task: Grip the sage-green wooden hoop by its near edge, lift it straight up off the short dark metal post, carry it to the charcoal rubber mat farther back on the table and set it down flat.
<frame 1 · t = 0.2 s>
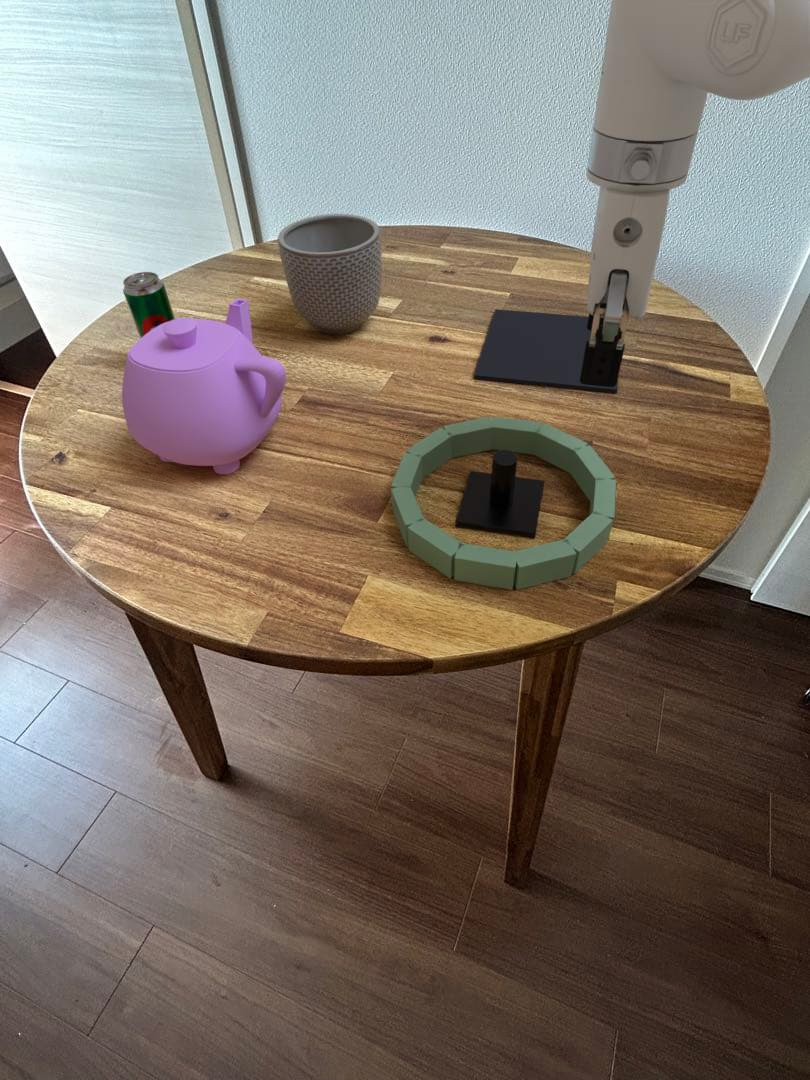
hand: (600, 355, 62), 14 cm above the table, tool pointing down, fingers open, 9 cm apart
teapot: (236, 434, 78), on the table
soda can: (170, 364, 90), on the table
planter: (340, 324, 96), on the table
hoop: (500, 505, 68), on the table
mat: (550, 349, 88), on the table
post: (500, 505, 68), on the table
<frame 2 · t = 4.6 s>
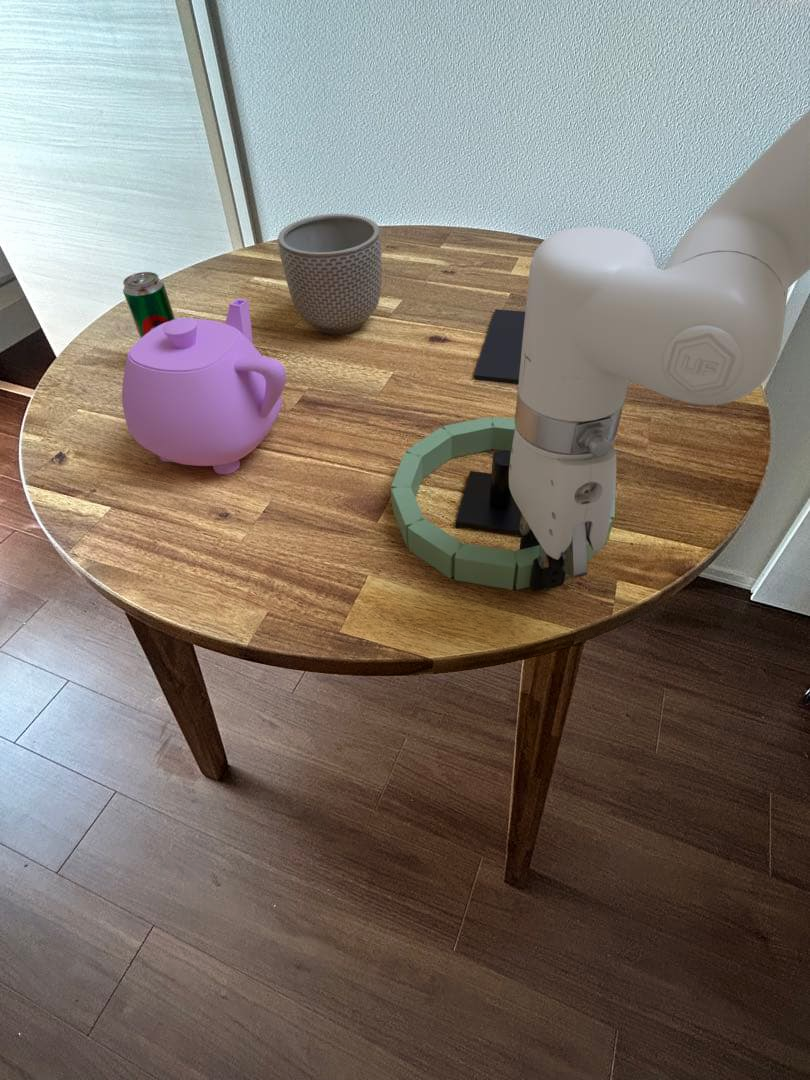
hand: (540, 574, 61), 0 cm above the table, tool pointing down, fingers closed on hoop, 2 cm apart
hoop: (500, 505, 68), on the table, touching gripper
everything else where it was.
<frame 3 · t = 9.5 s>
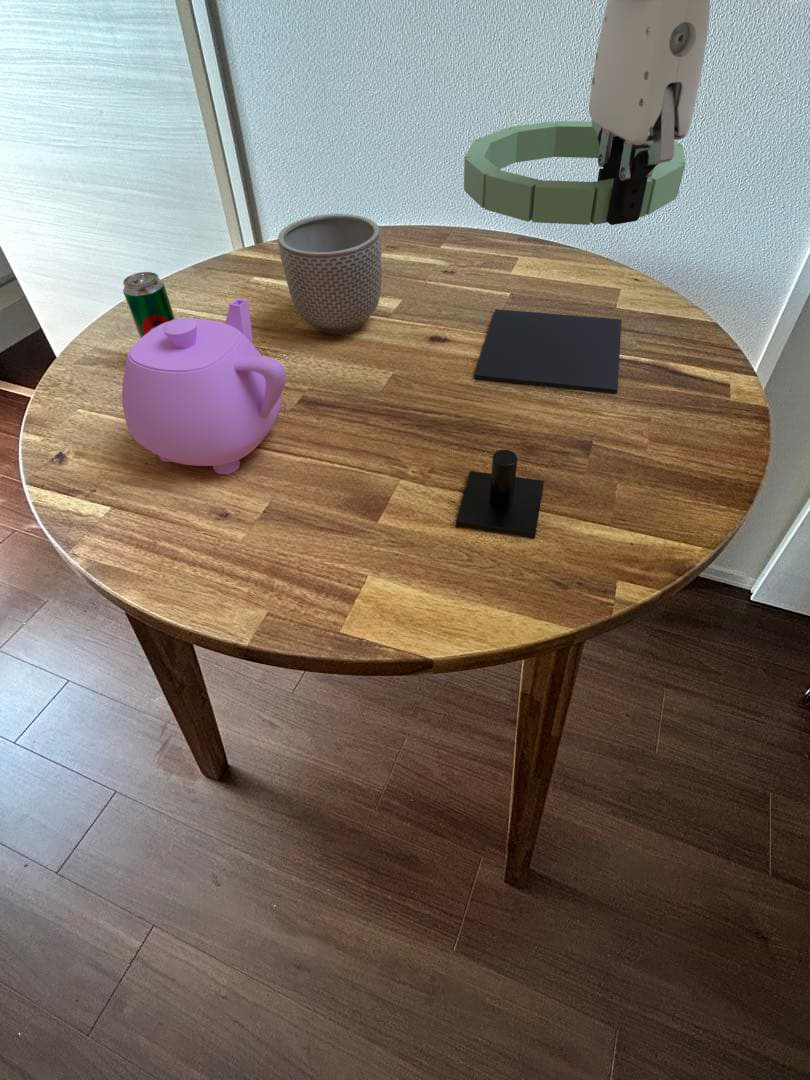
hand: (615, 215, 63), 22 cm above the table, tool pointing down, fingers closed on hoop
hoop: (568, 184, 70), point 22 cm above the table, touching gripper
everything else where it was.
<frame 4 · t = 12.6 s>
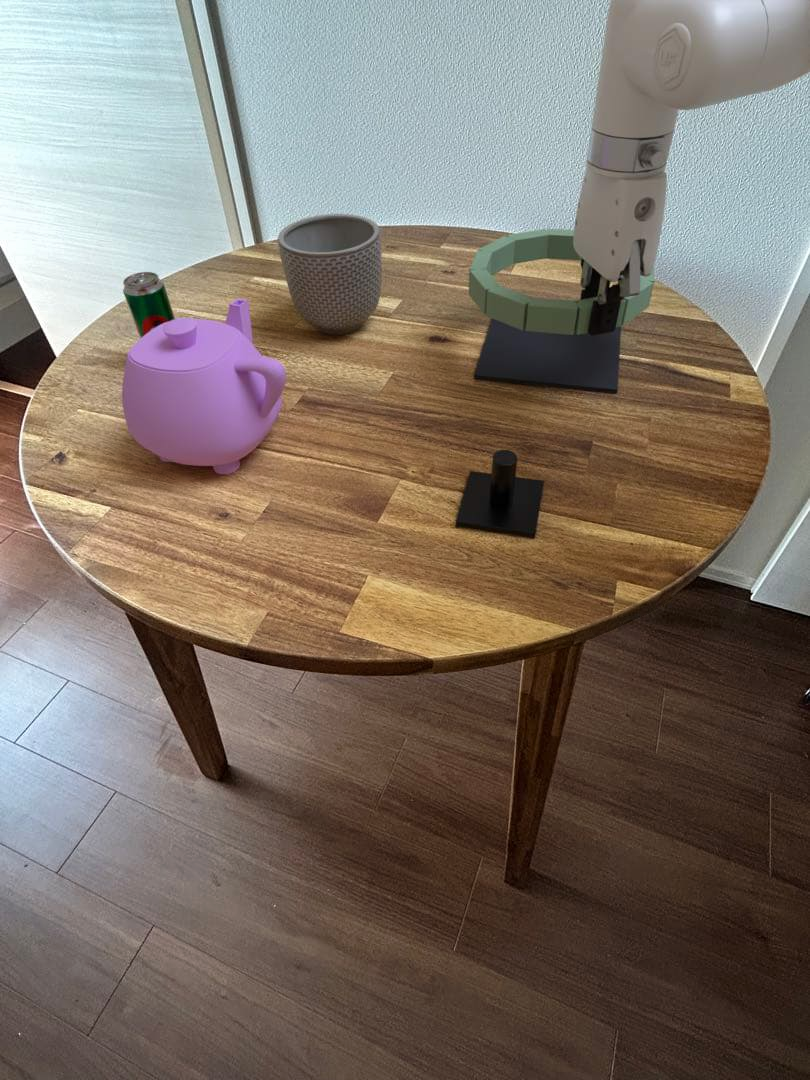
hand: (595, 325, 75), 9 cm above the table, tool pointing down, fingers closed on hoop
hoop: (558, 289, 82), point 8 cm above the table, touching gripper
everything else where it was.
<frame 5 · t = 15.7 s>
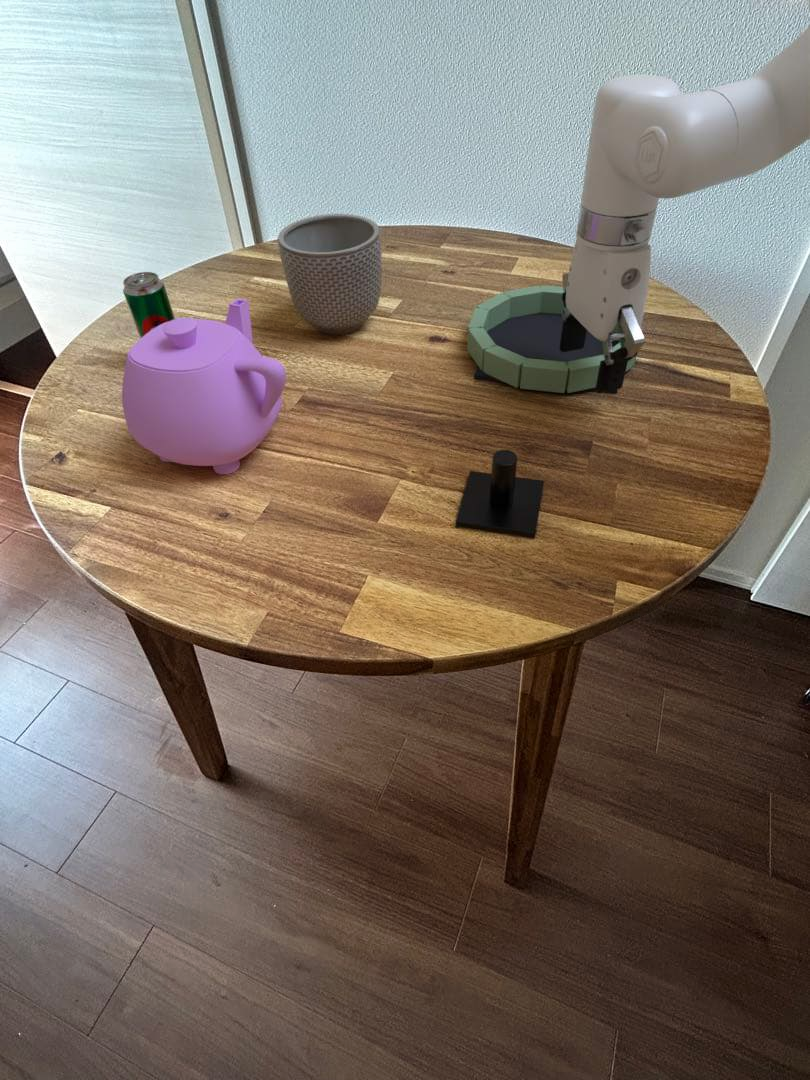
hand: (589, 368, 79), 3 cm above the table, tool pointing down, fingers open, 9 cm apart
hoop: (550, 345, 88), point 1 cm above the table, touching mat
everything else where it was.
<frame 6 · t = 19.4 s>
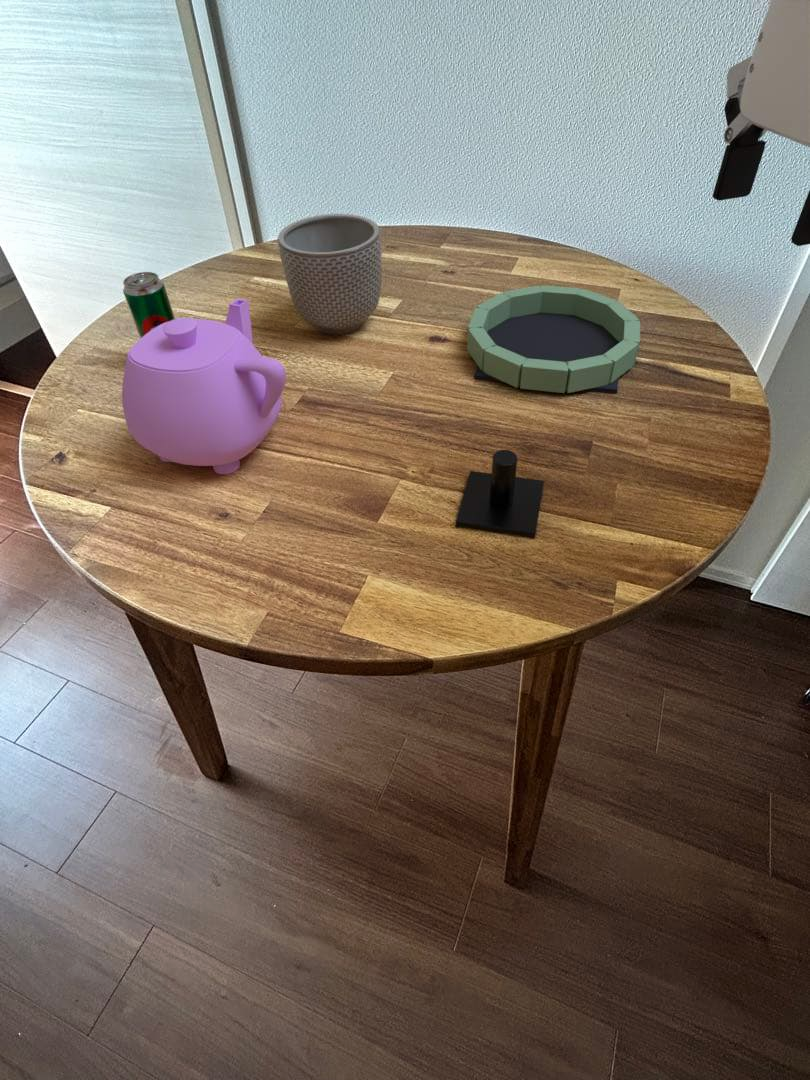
hand: (768, 218, 51), 26 cm above the table, tool pointing down, fingers open, 9 cm apart
nothing on the table moved.
at the end: hoop inside the target area on the mat (0.1 cm from its centre), point 0.6 cm above the mat's base; hoop tilted 0°; hoop touching mat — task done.
